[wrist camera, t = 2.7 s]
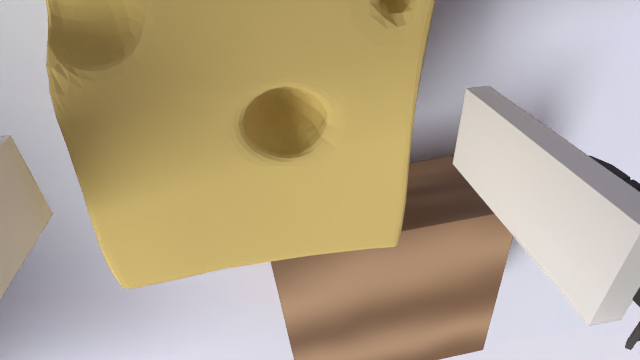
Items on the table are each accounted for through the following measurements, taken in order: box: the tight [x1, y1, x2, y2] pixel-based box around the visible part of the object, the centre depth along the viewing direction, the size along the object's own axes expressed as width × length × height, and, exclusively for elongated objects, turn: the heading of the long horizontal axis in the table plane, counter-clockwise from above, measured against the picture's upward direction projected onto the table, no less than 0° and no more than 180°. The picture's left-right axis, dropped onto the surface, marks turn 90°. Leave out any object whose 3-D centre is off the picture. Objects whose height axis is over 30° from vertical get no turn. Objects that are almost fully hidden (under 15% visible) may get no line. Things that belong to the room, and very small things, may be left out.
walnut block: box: [271, 155, 513, 360], centre depth 26 cm, size 13×13×6 cm
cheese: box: [46, 0, 435, 288], centre depth 15 cm, size 10×11×10 cm
